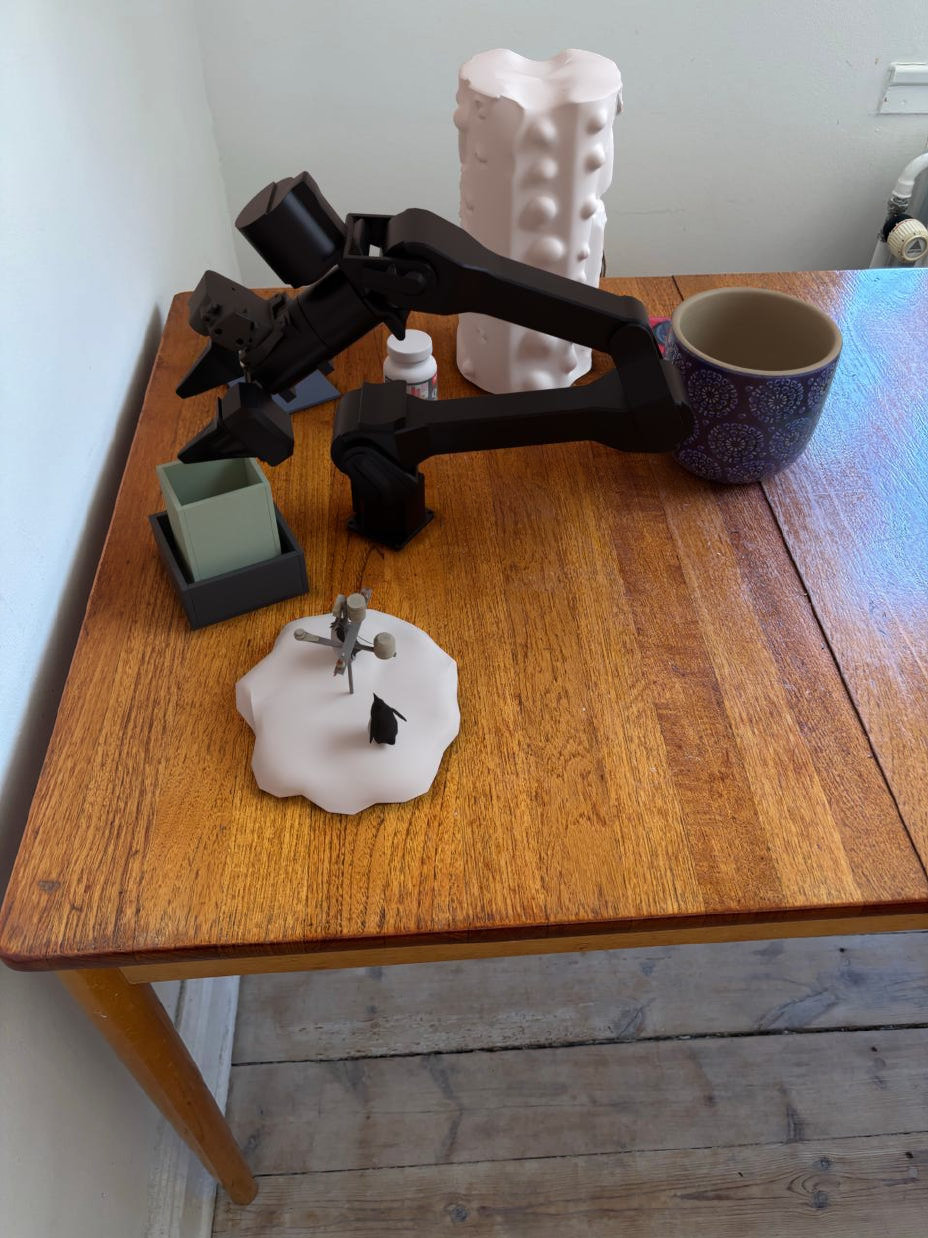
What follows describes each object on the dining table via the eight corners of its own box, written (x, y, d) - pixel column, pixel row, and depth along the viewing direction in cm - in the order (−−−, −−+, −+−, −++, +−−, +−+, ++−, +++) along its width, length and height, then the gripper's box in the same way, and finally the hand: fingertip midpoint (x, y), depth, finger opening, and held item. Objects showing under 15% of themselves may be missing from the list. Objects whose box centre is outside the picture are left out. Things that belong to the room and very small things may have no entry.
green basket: (261, 534, 97) (245, 441, 89) (285, 577, 93) (270, 483, 85) (179, 560, 94) (155, 466, 86) (200, 605, 90) (176, 511, 82)
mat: (341, 396, 114) (340, 393, 114) (259, 423, 110) (258, 420, 110) (302, 355, 120) (301, 352, 120) (223, 379, 116) (222, 376, 116)
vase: (456, 322, 125) (458, 37, 102) (587, 326, 125) (619, 41, 102) (449, 401, 114) (450, 99, 90) (594, 405, 113) (631, 104, 90)
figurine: (242, 620, 88) (213, 486, 75) (449, 610, 90) (455, 477, 77) (231, 829, 76) (193, 712, 63) (471, 813, 78) (482, 696, 65)
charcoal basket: (269, 521, 99) (262, 481, 95) (309, 592, 92) (304, 552, 89) (159, 555, 96) (147, 515, 92) (192, 631, 89) (181, 591, 85)
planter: (664, 395, 115) (687, 273, 104) (812, 425, 111) (851, 302, 100) (631, 481, 104) (653, 354, 93) (794, 518, 100) (836, 390, 90)
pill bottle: (445, 430, 110) (445, 349, 103) (395, 441, 108) (392, 360, 101) (427, 402, 113) (425, 322, 106) (379, 412, 112) (374, 332, 105)
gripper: (246, 195, 83) (110, 304, 88) (261, 318, 71) (103, 437, 76) (330, 290, 91) (201, 385, 96) (357, 415, 79) (208, 517, 84)
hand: (179, 426), depth 88 cm, fingers open, 9 cm apart
